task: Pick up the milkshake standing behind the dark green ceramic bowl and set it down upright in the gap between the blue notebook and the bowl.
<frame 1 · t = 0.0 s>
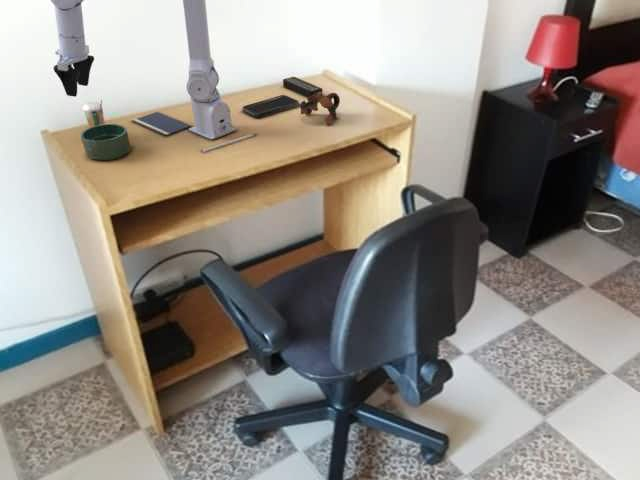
hand: (77, 90, 145), 11 cm above the table, tool pointing down, fingers open, 7 cm apart
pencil: (229, 144, 146), on the table
brown looped figurine: (322, 119, 159), on the table
multiport hub: (302, 91, 176), on the table
bowl: (109, 152, 141), on the table
phone: (271, 108, 165), on the table
blue notebook: (161, 124, 155), on the table
milkshake: (102, 138, 148), on the table
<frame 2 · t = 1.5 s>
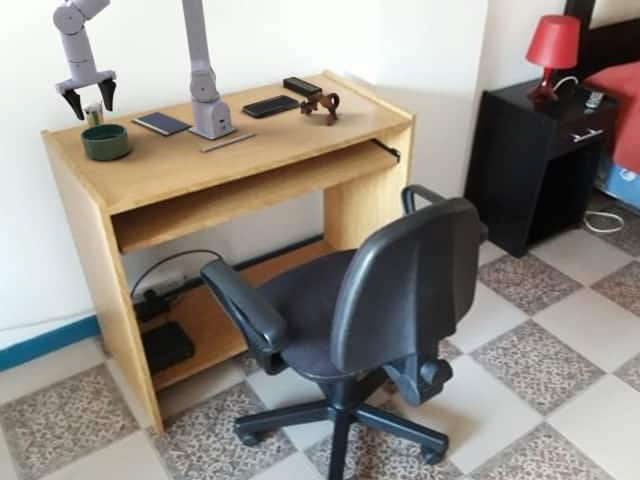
hand: (95, 114, 144), 6 cm above the table, tool pointing down, fingers open, 7 cm apart
nothing on the table moved.
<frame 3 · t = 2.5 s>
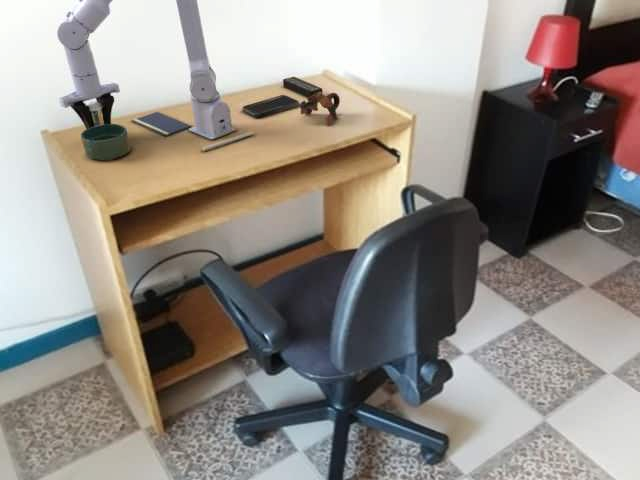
hand: (99, 127, 146), 3 cm above the table, tool pointing down, fingers closed on milkshake, 4 cm apart
milkshake: (102, 138, 148), on the table, touching gripper
everything else where it was.
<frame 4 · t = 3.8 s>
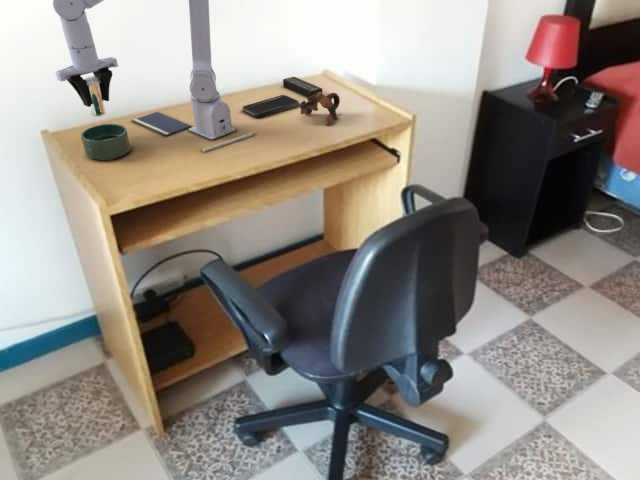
hand: (97, 102, 142), 9 cm above the table, tool pointing down, fingers closed on milkshake, 4 cm apart
milkshake: (100, 114, 144), point 6 cm above the table, touching gripper
everything else where it was.
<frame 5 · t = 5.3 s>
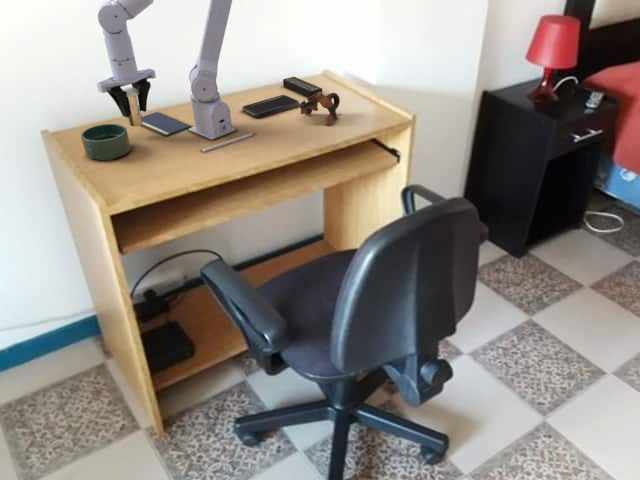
hand: (134, 113, 144), 6 cm above the table, tool pointing down, fingers closed on milkshake, 4 cm apart
milkshake: (137, 125, 146), point 3 cm above the table, touching gripper
everything else where it was.
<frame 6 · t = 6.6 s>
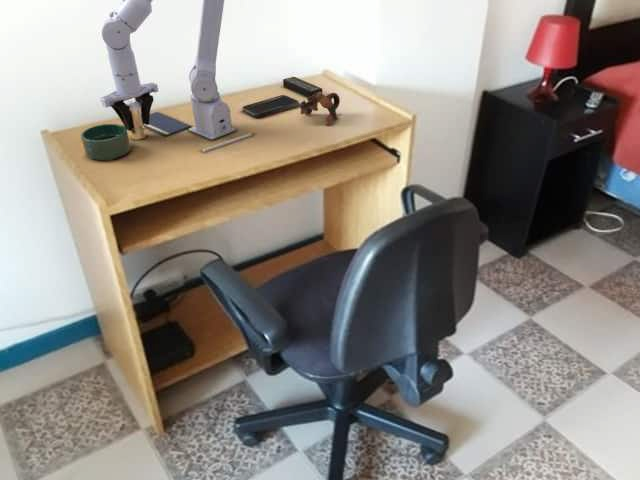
hand: (137, 126, 146), 3 cm above the table, tool pointing down, fingers closed on milkshake, 4 cm apart
milkshake: (140, 138, 148), on the table, touching gripper
everything else where it was.
when the fingers open (3 cm above the table, at t = 6.7 s): milkshake stays where it is, on the table.
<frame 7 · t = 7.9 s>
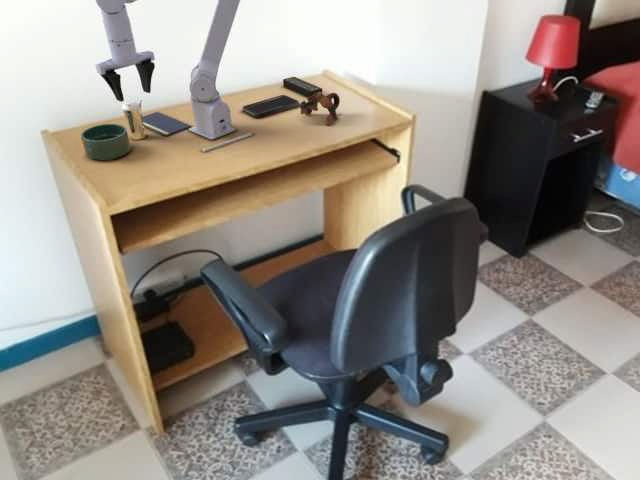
hand: (133, 96, 143), 10 cm above the table, tool pointing down, fingers open, 7 cm apart
milkshake: (140, 138, 148), on the table
everything else where it was.
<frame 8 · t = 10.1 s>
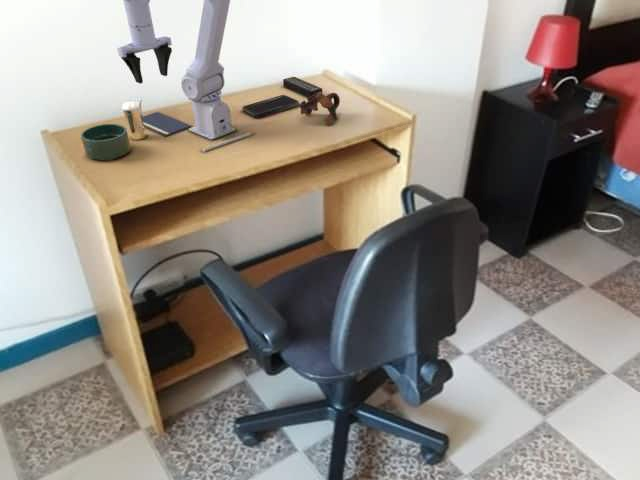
hand: (151, 78, 153), 10 cm above the table, tool pointing down, fingers open, 7 cm apart
nothing on the table moved.
at the end: milkshake inside the target area (0.2 cm from its centre), on the table; milkshake tilted 0°; the gripper is holding nothing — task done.
